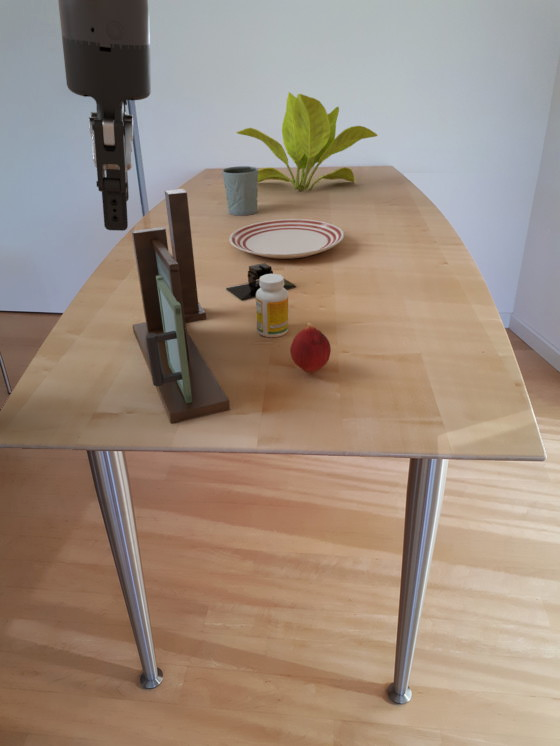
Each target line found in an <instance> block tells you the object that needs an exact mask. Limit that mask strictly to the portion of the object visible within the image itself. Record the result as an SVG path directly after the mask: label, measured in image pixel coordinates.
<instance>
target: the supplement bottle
mask: <svg viewBox="0 0 560 746" xmlns="http://www.w3.org/2000/svg"><path fill="white" fill-rule="evenodd" d="M284 279H285V277H284V276H283V275H281V274H279V273H273V274H266V275H263V276H261V277H260V279H259V280H260V284H259V285H260V288H259V289H258V290H257V292H256V297H255V311H256V313H255V314H256V315H255V316H256V317H255V318H256V331H257V333H258V334H259V335H261V336H263V337H265V338H279V337H281V336H284V335H286V334H287V333H288V331H289V293H288V289H287V290H286V289H285V288H283V286H284Z"/></svg>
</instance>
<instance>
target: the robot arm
mask: <svg viewBox="0 0 560 746" xmlns="http://www.w3.org/2000/svg"><path fill="white" fill-rule="evenodd" d="M57 2H58V13H59V22H60V30H61V31H60V32H61V40H62V50H63V51H62V52H63V60H64V70H65V81H66V86H67V88H68V90H69V91H70V92H72V93H73V94H75V95H77V96H80V97H84V98H92V99H93V100H94V102H95V104H96V111H90V116H88V127H89V128H88V129H89V134H90V137H91V140H92V160H93V164H94V167H95V168H96V175H97V176H96V177H97V181H96V187H97V188H98V189H97V190H98V191H99V192H101V199H102V215H103V225H104V228H105V229H106V230H108V231H121V232H122V231H126V230H127V229H128V227H129V226H128V225H129V221H128V220H129V219H128V201H129V198H130V197H129V180H128V179H129V178H128V177H129V176H128V172H129V171H131V169H132V152H133V144H132V143H133V140H134V115H133V114H127V106H128V101H140V100H141V101H142V100H145V99H147V98H148V97H149V96H150V95H151V93H152V77H151V76H152V74H151V69H152V68H151V34H150V33H151V31H150V30H151V29H150V6H149V0H58V1H57Z"/></svg>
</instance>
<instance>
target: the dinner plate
mask: <svg viewBox="0 0 560 746" xmlns="http://www.w3.org/2000/svg"><path fill="white" fill-rule="evenodd" d="M344 238H345V232H344V231H343V229H342V228H340V227H339V226H337V225H335V224H332V223H328V222H327V221H322V220H314V219H305V218H284V219H282V218H281V219H271V220H265V221H260V222H259V221H258V222H255V223H251V224H248V225H245V226H242V227H239V228H238V229H236V230H234V231H233V232H232V233H231V234H230V235H229V243H230V244H231V246H233V247H234V248H236V249H238V250H240V251H241V252H242V251H243V252H245V253H248V254H251V255H256V256H259V257H261V258H267V259H277V260H292V259H301V258H307V257H310V256H314V255H316V254H319V253H323V252H325V251H328V250H330V249H332V248H334V247H336V246H337V245H338V244H339V243H341V242H342V241H343V239H344Z"/></svg>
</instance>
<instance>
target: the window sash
mask: <svg viewBox="0 0 560 746" xmlns="http://www.w3.org/2000/svg"><path fill="white" fill-rule="evenodd" d="M156 281H157V288H158V295H159V302H160V309H161V316H162V323H163V330H164V333H160V334H155V333H150V334H147V335H146V336H145V338H146V344H147V350H148V356H149V362H150V368H151V373H150V376H151V375H152V376H151V381H152V385H153V386H154V387H156V386H162V385H163V384H164V383H168V382H173V381H177V383H178V385H179V387H180V389H181V391H182V393H183V396H184V398H185V401H186V403H191V402H192V395H191V386H190V378H189V370H188V362H187V353H186V345H185V337H184V329H183V320H182V312H181V305H180V303H179V302H177V301H176V299H175V297H174V296H173V294H172V293H171V291H170V289H169V288H168V286H167V285H166V283H165V282H164V280H163V277H162V275H159V276H156ZM161 341H165V344H166V351H167V358H168V365H169V367H170V368H171V370H172V374H167V375H163V372H162V366H161V359H160V352H159V346H158V342H161Z"/></svg>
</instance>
